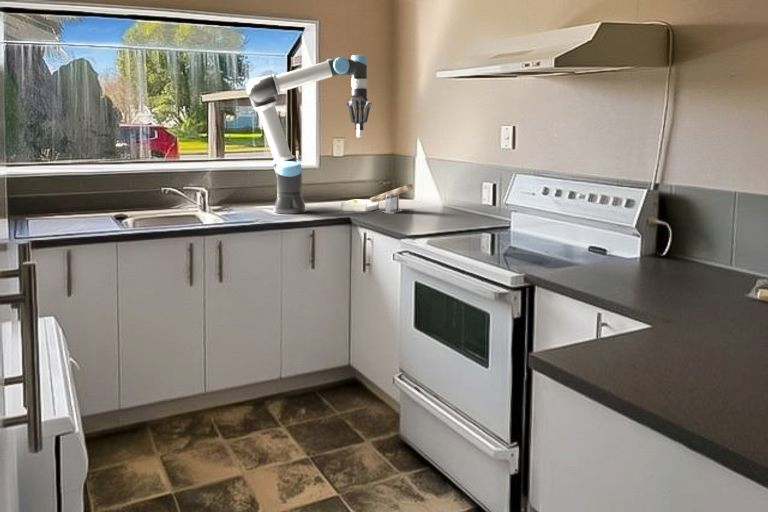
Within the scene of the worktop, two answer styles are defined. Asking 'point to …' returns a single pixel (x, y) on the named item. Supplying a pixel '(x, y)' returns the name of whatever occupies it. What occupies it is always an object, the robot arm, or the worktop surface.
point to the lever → (393, 193)
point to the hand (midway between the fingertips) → (359, 137)
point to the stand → (392, 204)
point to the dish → (359, 205)
